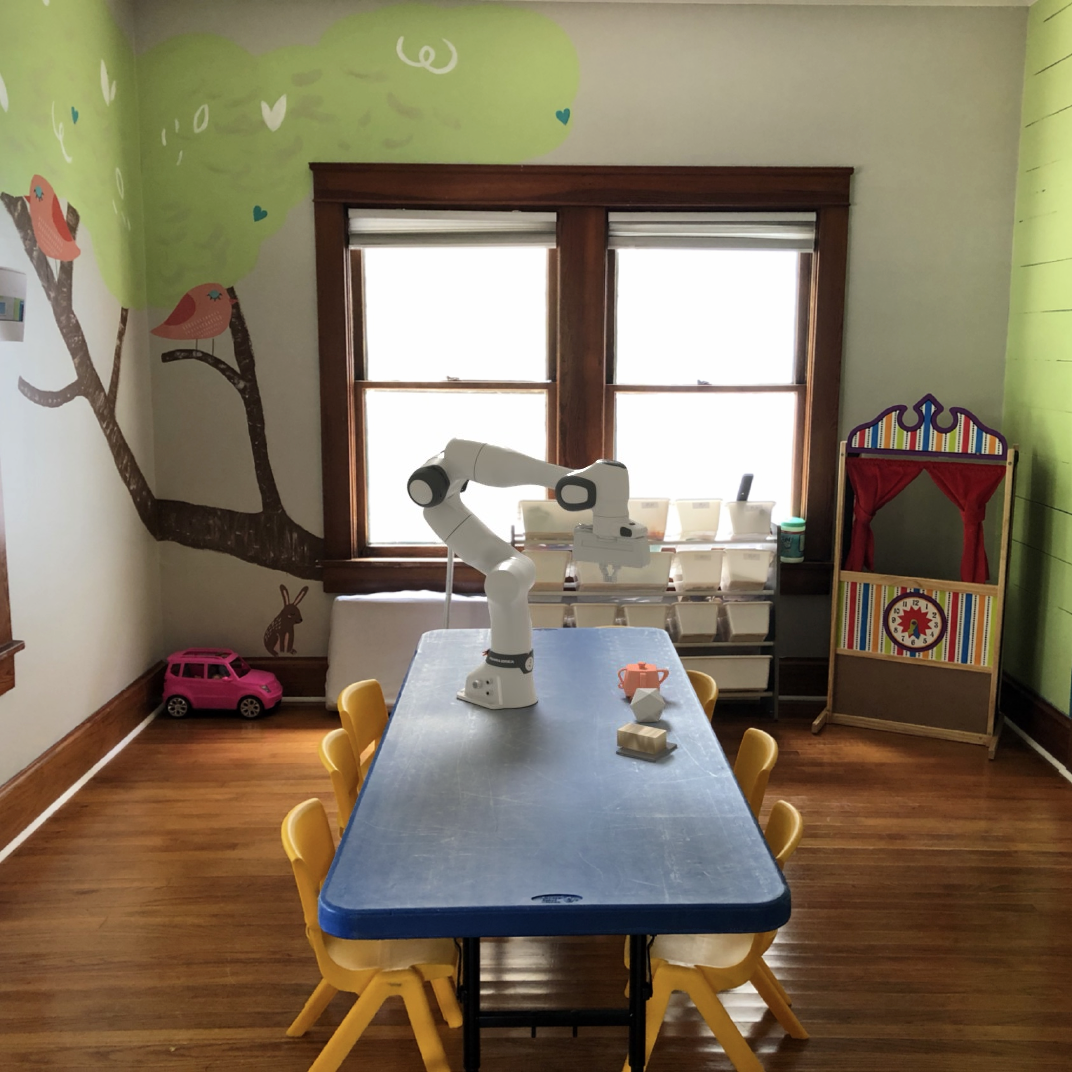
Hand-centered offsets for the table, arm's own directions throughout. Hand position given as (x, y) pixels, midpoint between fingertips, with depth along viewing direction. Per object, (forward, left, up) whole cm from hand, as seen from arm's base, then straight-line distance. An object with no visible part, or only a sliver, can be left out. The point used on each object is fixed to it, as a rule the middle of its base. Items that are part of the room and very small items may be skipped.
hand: (610, 582), depth 258 cm
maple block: (+9, -9, -34) cm, 37 cm away
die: (+6, +10, -37) cm, 39 cm away
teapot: (-4, +27, -37) cm, 46 cm away
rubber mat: (+15, -9, -37) cm, 41 cm away
